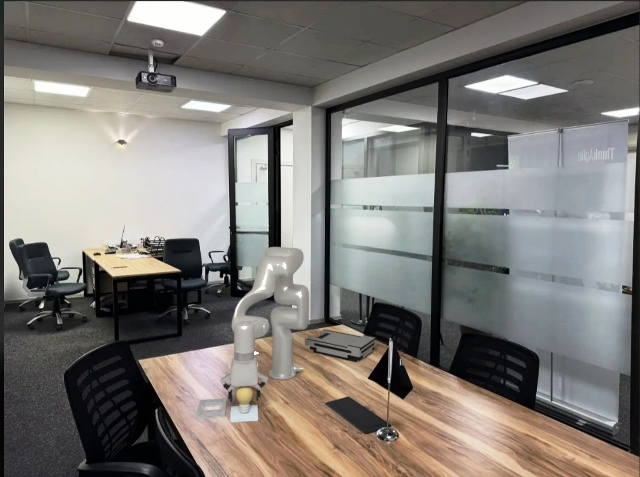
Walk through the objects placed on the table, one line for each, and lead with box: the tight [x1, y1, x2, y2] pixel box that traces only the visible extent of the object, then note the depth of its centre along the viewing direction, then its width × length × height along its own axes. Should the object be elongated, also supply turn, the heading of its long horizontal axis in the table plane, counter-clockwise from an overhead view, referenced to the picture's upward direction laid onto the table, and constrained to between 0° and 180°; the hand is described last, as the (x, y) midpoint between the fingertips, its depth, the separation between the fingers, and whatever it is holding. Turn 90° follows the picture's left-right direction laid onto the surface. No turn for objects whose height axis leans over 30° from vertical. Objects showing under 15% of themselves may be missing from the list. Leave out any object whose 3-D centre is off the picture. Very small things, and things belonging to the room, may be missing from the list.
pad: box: [229, 404, 259, 423], centre depth 159 cm, size 10×10×1 cm
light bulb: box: [235, 386, 254, 413], centre depth 159 cm, size 6×6×10 cm
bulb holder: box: [196, 397, 227, 420], centre depth 161 cm, size 10×10×2 cm
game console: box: [304, 328, 377, 363], centre depth 227 cm, size 21×32×8 cm, turn 60°
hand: (244, 399), depth 158 cm, fingers open, 9 cm apart
